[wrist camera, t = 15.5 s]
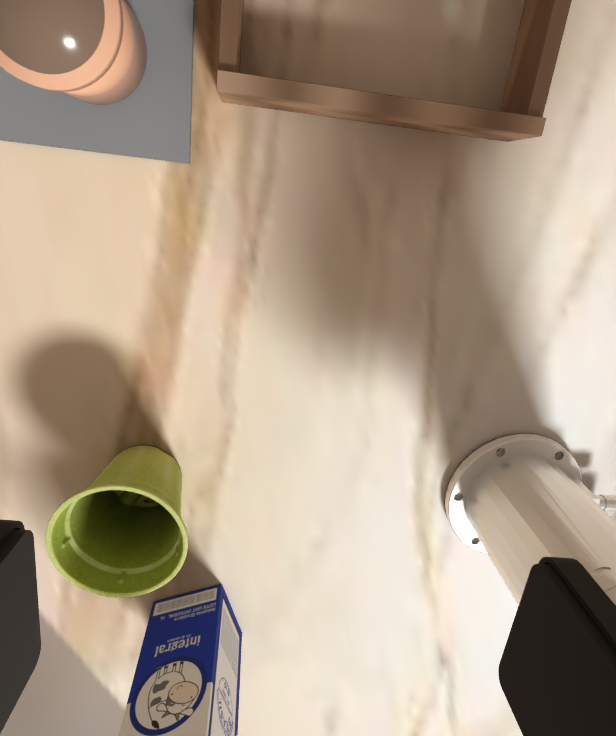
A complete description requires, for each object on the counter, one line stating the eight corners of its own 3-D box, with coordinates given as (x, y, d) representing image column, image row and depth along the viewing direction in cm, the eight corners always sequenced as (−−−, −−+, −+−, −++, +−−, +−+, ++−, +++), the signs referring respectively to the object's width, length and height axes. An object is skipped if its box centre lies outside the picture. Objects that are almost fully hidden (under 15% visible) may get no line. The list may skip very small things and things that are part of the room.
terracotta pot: (152, -12, 29) (115, -77, 22) (152, 117, 32) (118, 97, 24) (29, -32, 28) (-53, -107, 21) (38, 102, 31) (-32, 77, 24)
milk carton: (175, 650, 49) (122, 939, 30) (151, 602, 46) (77, 883, 28) (243, 632, 49) (232, 910, 30) (223, 583, 46) (197, 852, 28)
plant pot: (73, 436, 40) (24, 501, 32) (187, 416, 40) (168, 476, 32) (106, 528, 43) (70, 608, 35) (212, 509, 43) (200, 584, 35)
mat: (195, -53, 29) (194, -56, 29) (189, 163, 33) (189, 163, 33) (-20, -91, 28) (-24, -95, 27) (2, 140, 32) (-1, 140, 31)
